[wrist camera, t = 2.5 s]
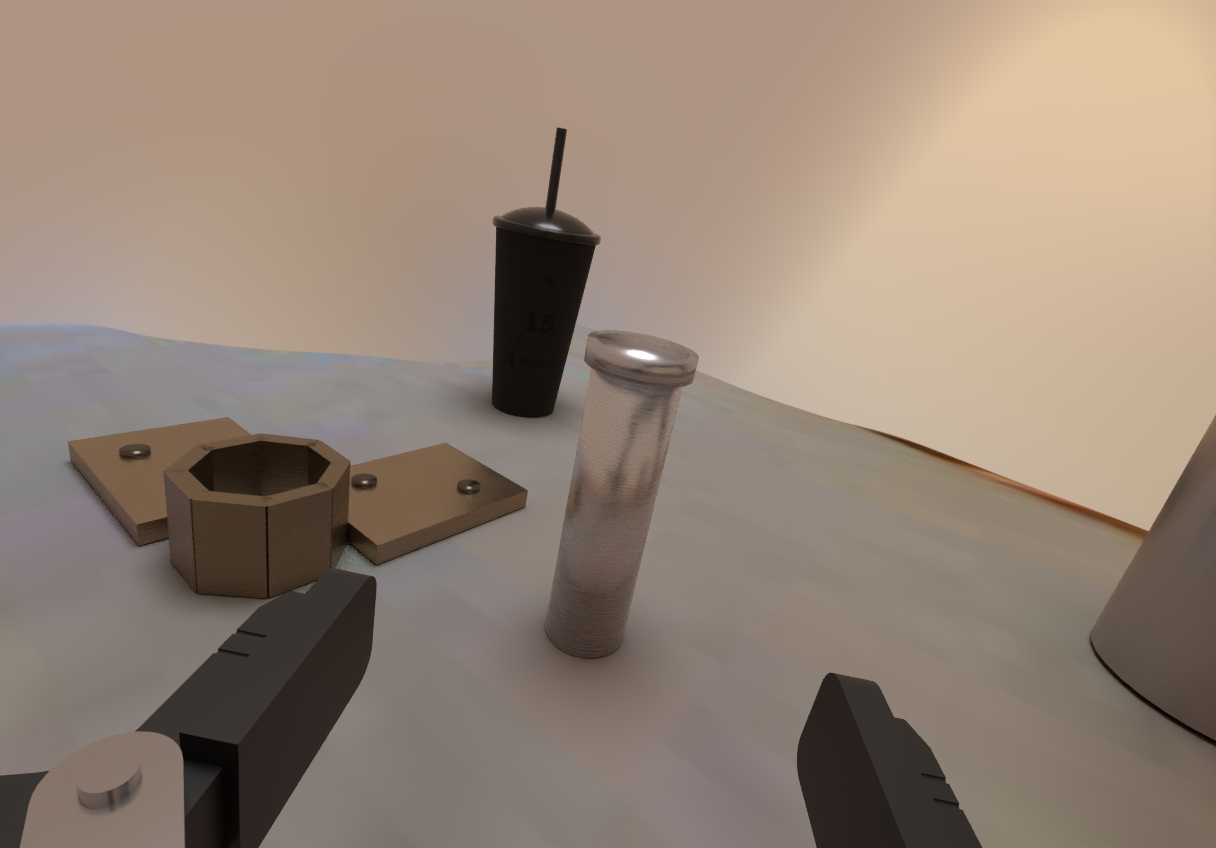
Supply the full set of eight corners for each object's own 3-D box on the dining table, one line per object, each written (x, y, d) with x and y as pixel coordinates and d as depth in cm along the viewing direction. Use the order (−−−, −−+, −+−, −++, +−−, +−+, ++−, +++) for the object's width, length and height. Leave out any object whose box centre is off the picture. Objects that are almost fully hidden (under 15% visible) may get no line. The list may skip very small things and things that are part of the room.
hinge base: (365, 410, 41) (368, 353, 40) (525, 506, 33) (535, 440, 32) (70, 460, 29) (59, 381, 28) (207, 631, 21) (201, 532, 20)
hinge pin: (579, 588, 27) (631, 327, 23) (647, 633, 25) (718, 357, 21) (518, 625, 24) (565, 333, 20) (590, 679, 22) (658, 368, 18)
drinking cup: (461, 388, 49) (490, 116, 42) (549, 389, 53) (588, 140, 46) (489, 425, 43) (527, 114, 36) (586, 424, 46) (638, 141, 39)
